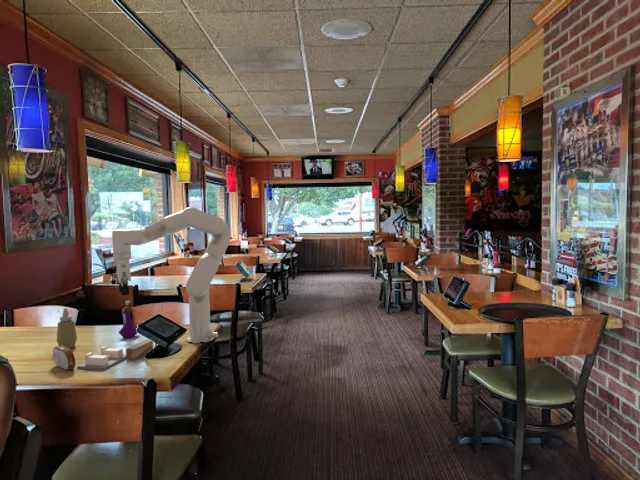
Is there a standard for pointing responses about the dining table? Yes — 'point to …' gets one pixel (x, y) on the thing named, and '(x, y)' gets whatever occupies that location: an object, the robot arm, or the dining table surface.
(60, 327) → the squeeze bottle
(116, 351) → the stand
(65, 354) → the tin
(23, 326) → the dining table surface
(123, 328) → the perfume bottle
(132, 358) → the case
